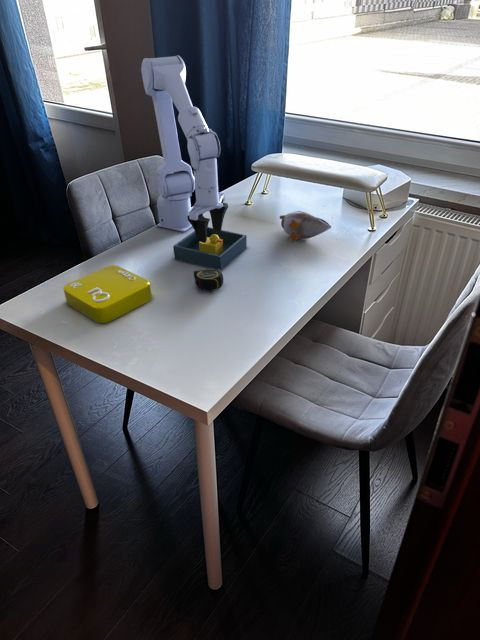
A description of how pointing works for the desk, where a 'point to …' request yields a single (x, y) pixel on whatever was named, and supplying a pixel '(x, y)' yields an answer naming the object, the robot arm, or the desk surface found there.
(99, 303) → the element tile
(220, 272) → the tape measure
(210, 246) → the rubber duck
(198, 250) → the blue square tray
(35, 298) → the desk surface
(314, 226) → the decorative duck model
